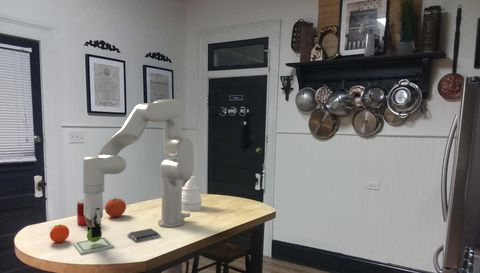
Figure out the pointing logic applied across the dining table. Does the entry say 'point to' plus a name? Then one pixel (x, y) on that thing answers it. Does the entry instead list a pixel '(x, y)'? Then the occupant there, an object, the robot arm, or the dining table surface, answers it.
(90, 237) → the snail figurine
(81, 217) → the canned food
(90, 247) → the board
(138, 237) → the ink pad
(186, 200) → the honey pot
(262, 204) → the dining table surface
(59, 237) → the clementine
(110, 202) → the tomato
